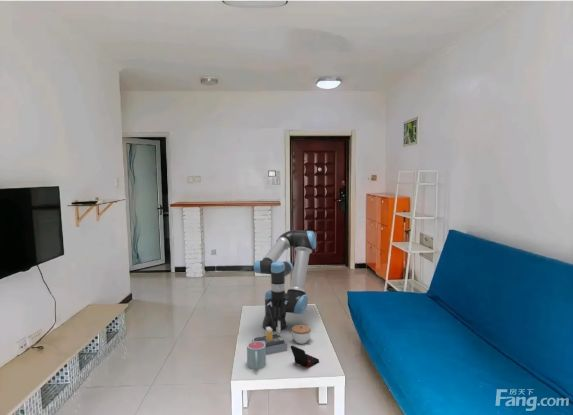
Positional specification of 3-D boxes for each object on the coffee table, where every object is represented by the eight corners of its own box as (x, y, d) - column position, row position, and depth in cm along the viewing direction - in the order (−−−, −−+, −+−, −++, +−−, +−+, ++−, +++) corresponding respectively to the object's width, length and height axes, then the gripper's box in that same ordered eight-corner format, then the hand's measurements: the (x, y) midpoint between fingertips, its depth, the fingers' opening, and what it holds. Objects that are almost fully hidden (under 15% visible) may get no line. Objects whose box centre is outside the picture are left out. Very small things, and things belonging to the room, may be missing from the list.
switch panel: (278, 341, 211) (278, 333, 211) (286, 350, 200) (286, 341, 200) (252, 346, 205) (251, 338, 205) (259, 356, 194) (258, 347, 194)
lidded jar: (314, 340, 213) (314, 324, 212) (304, 347, 204) (304, 330, 203) (298, 336, 219) (298, 320, 218) (288, 342, 210) (288, 326, 209)
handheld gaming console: (319, 362, 187) (319, 343, 186) (303, 371, 178) (303, 351, 178) (305, 356, 194) (305, 337, 193) (289, 364, 185) (289, 345, 184)
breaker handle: (270, 338, 205) (270, 326, 205) (273, 341, 201) (273, 329, 200) (264, 339, 204) (264, 327, 203) (267, 343, 199) (267, 330, 199)
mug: (247, 360, 189) (247, 341, 189) (265, 359, 190) (265, 341, 189) (246, 374, 176) (246, 354, 175) (266, 373, 176) (265, 353, 176)
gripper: (269, 293, 196) (269, 336, 198) (291, 290, 202) (291, 332, 203) (264, 290, 203) (264, 331, 205) (286, 287, 208) (286, 327, 210)
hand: (278, 332), depth 204 cm, fingers closed
